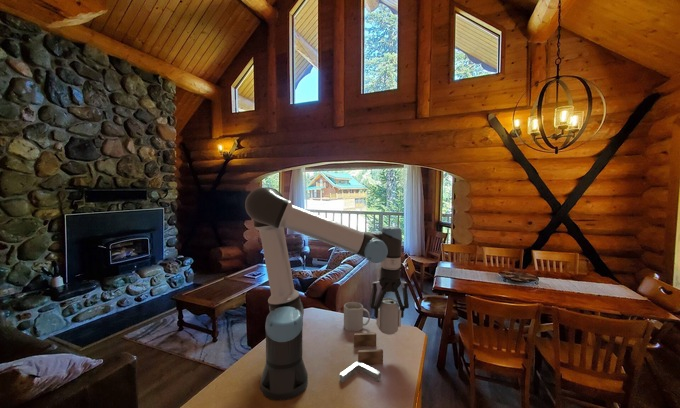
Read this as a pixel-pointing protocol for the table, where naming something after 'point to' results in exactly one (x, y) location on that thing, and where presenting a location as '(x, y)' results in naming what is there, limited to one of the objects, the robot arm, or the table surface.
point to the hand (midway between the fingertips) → (388, 325)
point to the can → (389, 316)
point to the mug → (354, 316)
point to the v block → (362, 369)
